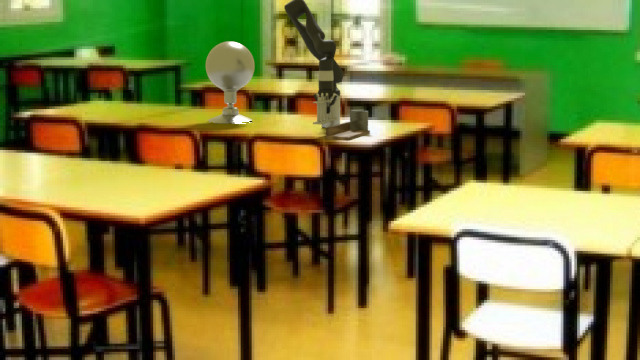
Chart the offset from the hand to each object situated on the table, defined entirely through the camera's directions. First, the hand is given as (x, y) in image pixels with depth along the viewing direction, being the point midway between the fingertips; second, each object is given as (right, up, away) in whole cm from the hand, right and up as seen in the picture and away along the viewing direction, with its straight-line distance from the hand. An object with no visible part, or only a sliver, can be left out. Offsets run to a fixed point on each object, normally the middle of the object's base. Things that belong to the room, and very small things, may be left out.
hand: (326, 113), depth 515 cm
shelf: (+11, -12, -3) cm, 16 cm away
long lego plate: (0, -4, 0) cm, 4 cm away
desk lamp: (-54, 0, +62) cm, 83 cm away
